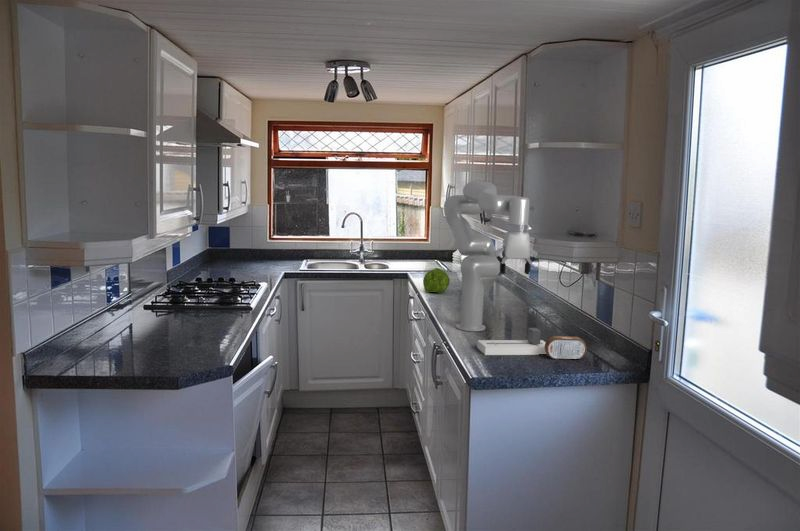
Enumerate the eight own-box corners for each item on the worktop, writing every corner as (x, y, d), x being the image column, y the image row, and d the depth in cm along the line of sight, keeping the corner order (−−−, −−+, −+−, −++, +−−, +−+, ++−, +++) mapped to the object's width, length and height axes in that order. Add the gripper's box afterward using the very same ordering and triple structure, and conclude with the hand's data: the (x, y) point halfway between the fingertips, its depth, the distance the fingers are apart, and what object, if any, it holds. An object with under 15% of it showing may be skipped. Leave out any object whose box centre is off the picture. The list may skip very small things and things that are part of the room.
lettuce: (424, 288, 384) (449, 292, 383) (420, 292, 360) (447, 296, 358) (428, 264, 383) (453, 268, 382) (424, 266, 359) (451, 270, 358)
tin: (584, 358, 238) (585, 336, 237) (586, 361, 235) (588, 338, 234) (543, 357, 238) (545, 335, 237) (545, 359, 235) (547, 337, 234)
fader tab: (527, 340, 248) (528, 327, 247) (535, 340, 248) (535, 327, 247) (532, 344, 243) (533, 331, 242) (540, 344, 243) (540, 331, 243)
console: (477, 347, 247) (477, 339, 247) (541, 347, 252) (542, 339, 251) (485, 355, 237) (485, 346, 237) (552, 354, 242) (552, 346, 242)
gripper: (535, 229, 253) (532, 272, 255) (492, 227, 250) (490, 271, 252) (542, 230, 245) (539, 275, 248) (499, 229, 242) (496, 274, 245)
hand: (514, 273), depth 250 cm, fingers open, 9 cm apart
